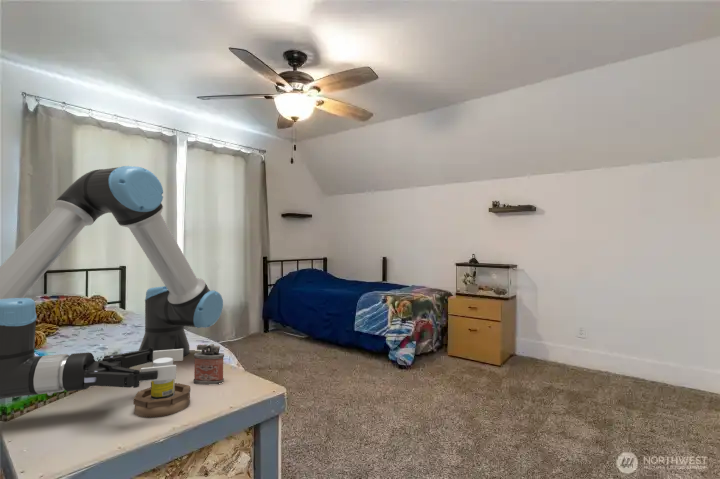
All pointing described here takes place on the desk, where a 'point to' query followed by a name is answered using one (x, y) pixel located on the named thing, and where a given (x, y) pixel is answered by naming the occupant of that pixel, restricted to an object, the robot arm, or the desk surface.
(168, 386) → the supplement bottle
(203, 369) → the lighter
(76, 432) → the desk surface
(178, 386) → the coaster stand
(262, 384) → the desk surface
